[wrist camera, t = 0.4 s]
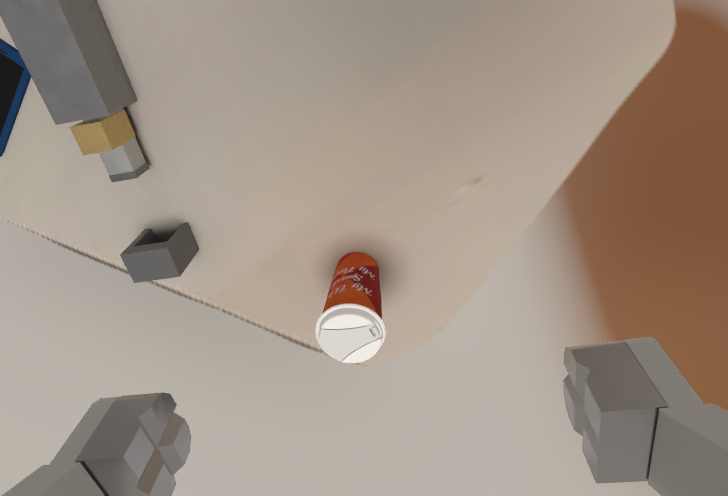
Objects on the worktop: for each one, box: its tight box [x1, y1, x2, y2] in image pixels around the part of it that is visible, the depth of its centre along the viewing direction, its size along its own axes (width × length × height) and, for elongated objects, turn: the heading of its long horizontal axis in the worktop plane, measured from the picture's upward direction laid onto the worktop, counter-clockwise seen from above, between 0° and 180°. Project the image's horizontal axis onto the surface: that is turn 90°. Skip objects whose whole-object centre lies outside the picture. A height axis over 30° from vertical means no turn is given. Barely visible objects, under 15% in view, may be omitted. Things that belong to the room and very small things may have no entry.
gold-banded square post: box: [70, 108, 149, 182], centre depth 49 cm, size 19×3×5 cm, turn 11°
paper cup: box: [316, 252, 386, 363], centre depth 57 cm, size 8×8×14 cm
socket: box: [120, 223, 199, 283], centre depth 59 cm, size 4×6×6 cm, turn 101°
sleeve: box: [0, 0, 137, 125], centre depth 48 cm, size 12×6×6 cm, turn 11°
